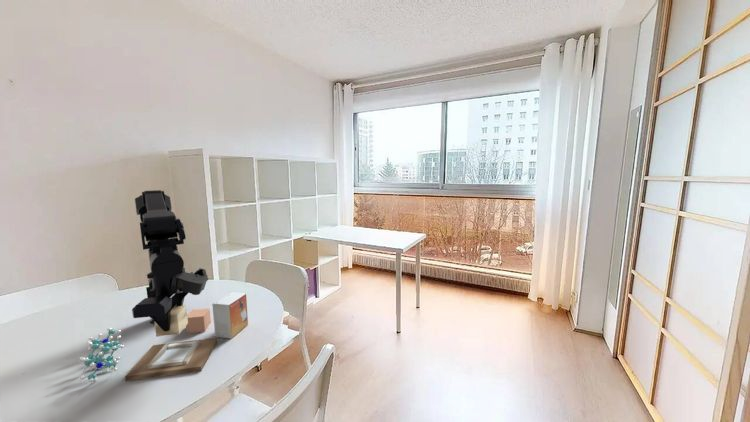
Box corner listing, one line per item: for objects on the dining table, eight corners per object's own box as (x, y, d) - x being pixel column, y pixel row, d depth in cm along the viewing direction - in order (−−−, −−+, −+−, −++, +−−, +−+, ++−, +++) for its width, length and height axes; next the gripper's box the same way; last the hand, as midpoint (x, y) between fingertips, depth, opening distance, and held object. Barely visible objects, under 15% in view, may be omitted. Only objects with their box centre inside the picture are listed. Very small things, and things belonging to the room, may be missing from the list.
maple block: (156, 336, 69) (153, 317, 68) (166, 325, 74) (164, 307, 73) (179, 333, 70) (177, 315, 69) (187, 323, 75) (186, 305, 74)
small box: (231, 339, 81) (228, 305, 80) (214, 337, 82) (211, 303, 81) (249, 324, 89) (246, 293, 88) (233, 322, 90) (230, 291, 89)
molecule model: (128, 342, 80) (124, 319, 79) (124, 378, 66) (120, 350, 65) (87, 354, 75) (83, 329, 74) (74, 395, 61) (69, 365, 60)
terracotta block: (186, 333, 84) (185, 318, 84) (193, 324, 89) (192, 309, 88) (205, 331, 85) (203, 316, 85) (210, 322, 90) (209, 308, 90)
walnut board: (125, 381, 65) (124, 373, 65) (153, 349, 77) (152, 342, 77) (201, 370, 69) (200, 363, 68) (217, 341, 80) (217, 335, 80)
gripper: (185, 277, 62) (192, 343, 64) (214, 253, 80) (218, 304, 82) (126, 282, 59) (135, 349, 62) (169, 255, 77) (175, 308, 80)
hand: (172, 325), depth 71 cm, fingers closed on maple block, 5 cm apart
